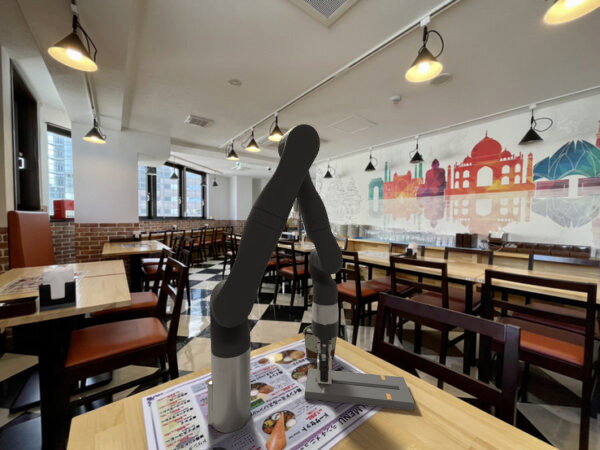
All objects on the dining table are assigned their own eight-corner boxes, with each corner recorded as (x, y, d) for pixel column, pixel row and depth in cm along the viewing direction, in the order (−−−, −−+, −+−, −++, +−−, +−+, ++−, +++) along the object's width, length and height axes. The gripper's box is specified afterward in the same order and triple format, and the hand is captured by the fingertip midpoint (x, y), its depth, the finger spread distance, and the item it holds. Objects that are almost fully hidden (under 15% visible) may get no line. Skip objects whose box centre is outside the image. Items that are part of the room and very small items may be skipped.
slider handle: (316, 382, 68) (317, 361, 68) (317, 374, 72) (317, 354, 71) (331, 384, 68) (331, 363, 67) (331, 376, 71) (331, 355, 71)
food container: (337, 351, 89) (337, 324, 88) (338, 361, 83) (338, 332, 82) (303, 349, 90) (303, 322, 90) (302, 358, 84) (302, 330, 83)
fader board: (304, 398, 65) (304, 390, 65) (308, 374, 75) (308, 368, 75) (414, 410, 62) (414, 402, 61) (403, 383, 71) (403, 376, 71)
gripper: (313, 307, 76) (313, 360, 77) (309, 327, 62) (308, 392, 63) (337, 308, 75) (337, 362, 76) (338, 329, 61) (338, 395, 62)
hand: (324, 376), depth 70 cm, fingers closed on slider handle, 3 cm apart
